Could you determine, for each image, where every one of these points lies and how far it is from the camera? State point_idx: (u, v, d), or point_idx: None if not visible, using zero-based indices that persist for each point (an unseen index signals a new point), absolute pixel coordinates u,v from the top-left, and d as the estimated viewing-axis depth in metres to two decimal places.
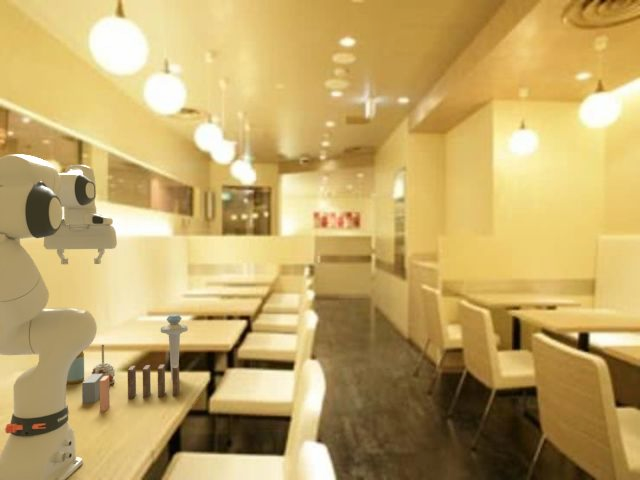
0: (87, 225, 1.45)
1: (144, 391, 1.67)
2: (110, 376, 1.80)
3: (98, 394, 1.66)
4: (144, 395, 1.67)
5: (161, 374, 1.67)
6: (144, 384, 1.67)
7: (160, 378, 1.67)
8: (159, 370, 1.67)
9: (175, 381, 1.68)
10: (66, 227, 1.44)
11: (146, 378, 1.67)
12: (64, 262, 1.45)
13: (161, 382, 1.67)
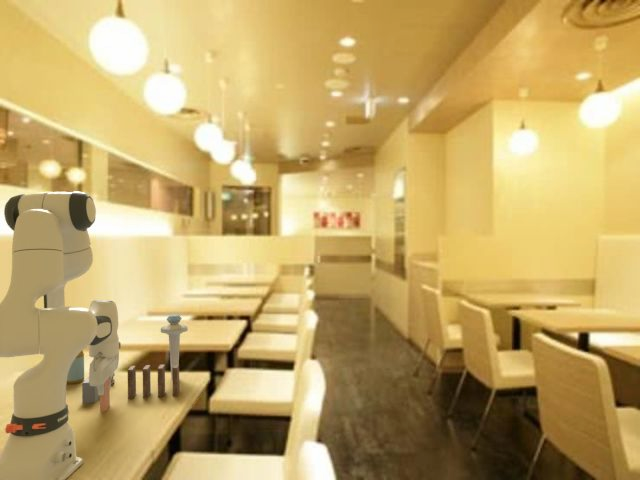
0: None
1: (144, 391, 1.67)
2: None
3: None
4: (144, 395, 1.67)
5: (161, 374, 1.67)
6: (144, 384, 1.67)
7: (160, 378, 1.67)
8: (159, 370, 1.67)
9: (175, 381, 1.68)
10: (107, 359, 1.53)
11: (146, 378, 1.67)
12: (104, 392, 1.54)
13: (161, 382, 1.67)
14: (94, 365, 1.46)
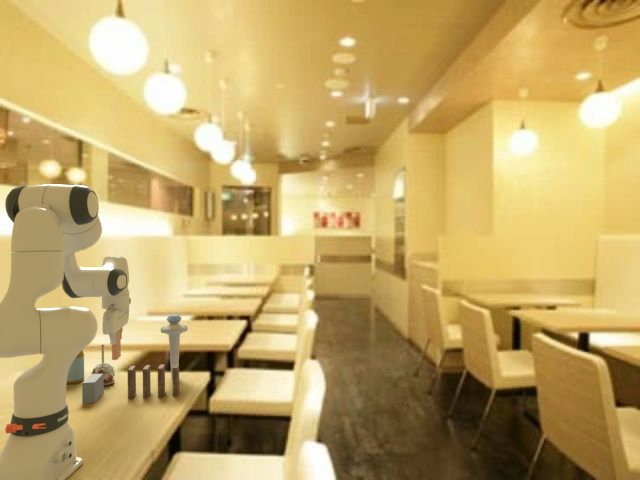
0: None
1: (144, 391, 1.67)
2: (110, 376, 1.80)
3: (98, 394, 1.66)
4: (144, 395, 1.67)
5: (161, 374, 1.67)
6: (144, 384, 1.67)
7: (160, 378, 1.67)
8: (159, 370, 1.67)
9: (175, 381, 1.68)
10: (118, 311, 1.64)
11: (146, 378, 1.67)
12: (116, 342, 1.65)
13: (161, 382, 1.67)
14: (107, 314, 1.57)
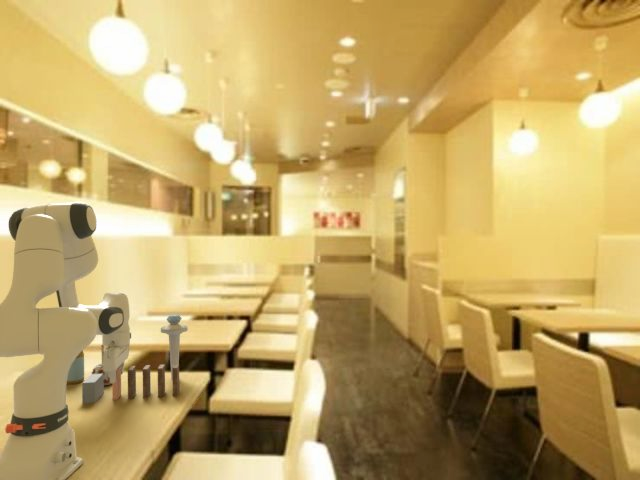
0: None
1: (144, 391, 1.67)
2: None
3: (98, 394, 1.66)
4: (144, 395, 1.67)
5: (161, 374, 1.67)
6: (144, 384, 1.67)
7: (160, 378, 1.67)
8: (159, 370, 1.67)
9: (175, 381, 1.68)
10: (119, 348, 1.64)
11: (146, 378, 1.67)
12: (115, 380, 1.63)
13: (161, 382, 1.67)
14: (108, 353, 1.57)
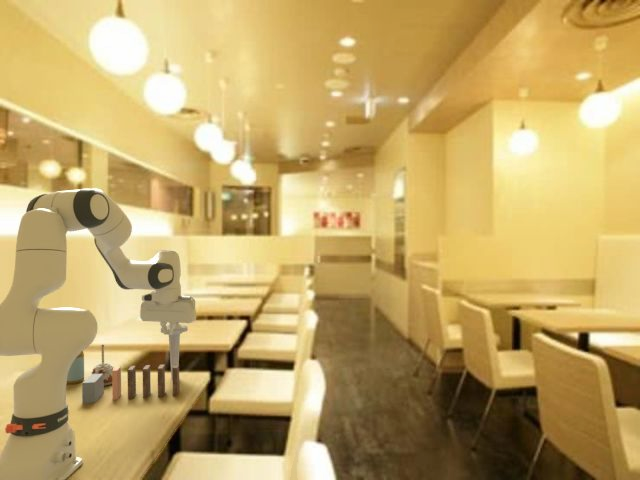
0: None
1: (144, 391, 1.67)
2: (110, 376, 1.80)
3: (98, 394, 1.66)
4: (144, 395, 1.67)
5: (161, 374, 1.67)
6: (144, 384, 1.67)
7: (160, 378, 1.67)
8: (159, 370, 1.67)
9: (175, 381, 1.68)
10: None
11: (146, 378, 1.67)
12: None
13: (161, 382, 1.67)
14: None
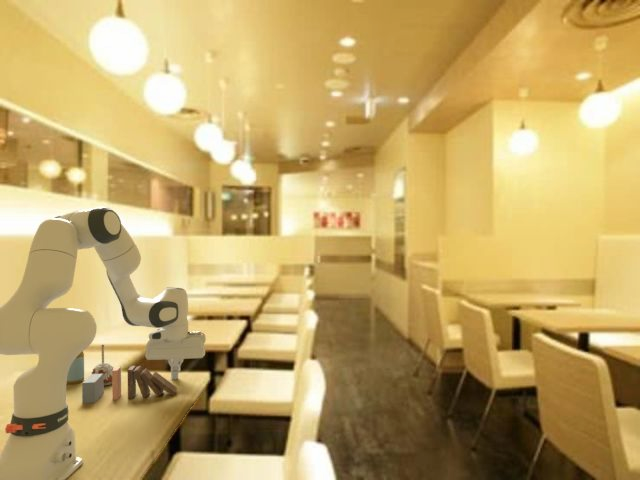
0: None
1: (142, 391, 1.67)
2: (110, 376, 1.80)
3: (98, 394, 1.66)
4: (143, 395, 1.67)
5: (146, 377, 1.67)
6: (139, 384, 1.66)
7: (148, 381, 1.67)
8: (142, 375, 1.66)
9: (162, 385, 1.68)
10: None
11: (139, 378, 1.66)
12: None
13: (151, 383, 1.67)
14: None
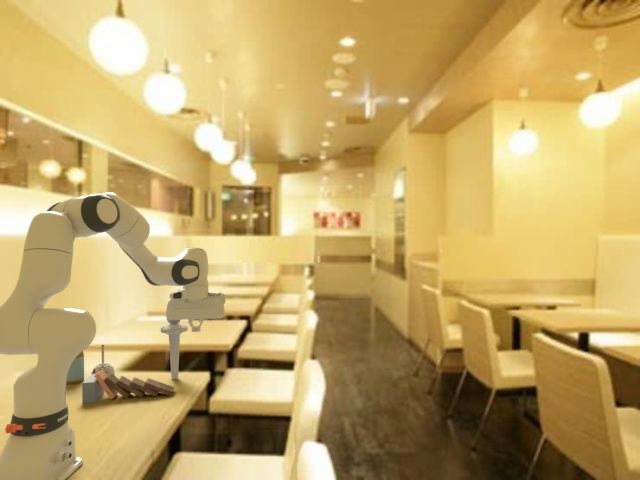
0: None
1: (136, 393, 1.66)
2: None
3: (98, 394, 1.66)
4: (140, 395, 1.66)
5: (136, 384, 1.66)
6: (130, 390, 1.66)
7: (139, 387, 1.66)
8: (131, 384, 1.66)
9: (157, 388, 1.67)
10: None
11: (126, 385, 1.66)
12: None
13: (144, 388, 1.67)
14: None
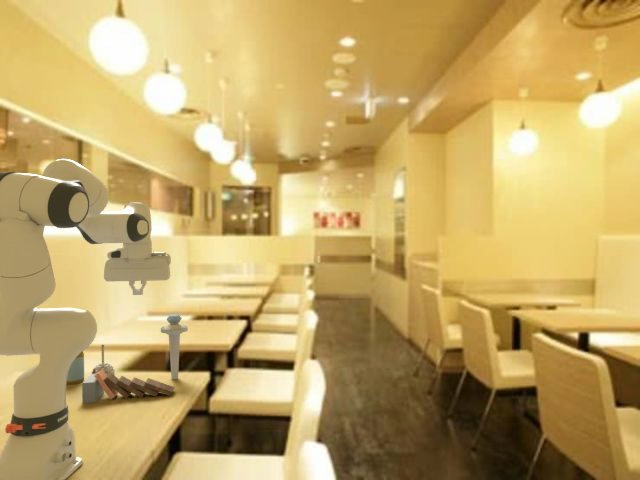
0: None
1: (136, 393, 1.66)
2: None
3: (98, 394, 1.66)
4: (140, 395, 1.66)
5: (136, 384, 1.66)
6: (130, 390, 1.66)
7: (139, 387, 1.66)
8: (131, 384, 1.66)
9: (157, 388, 1.67)
10: None
11: (126, 385, 1.66)
12: None
13: (144, 388, 1.67)
14: (170, 259, 1.58)
